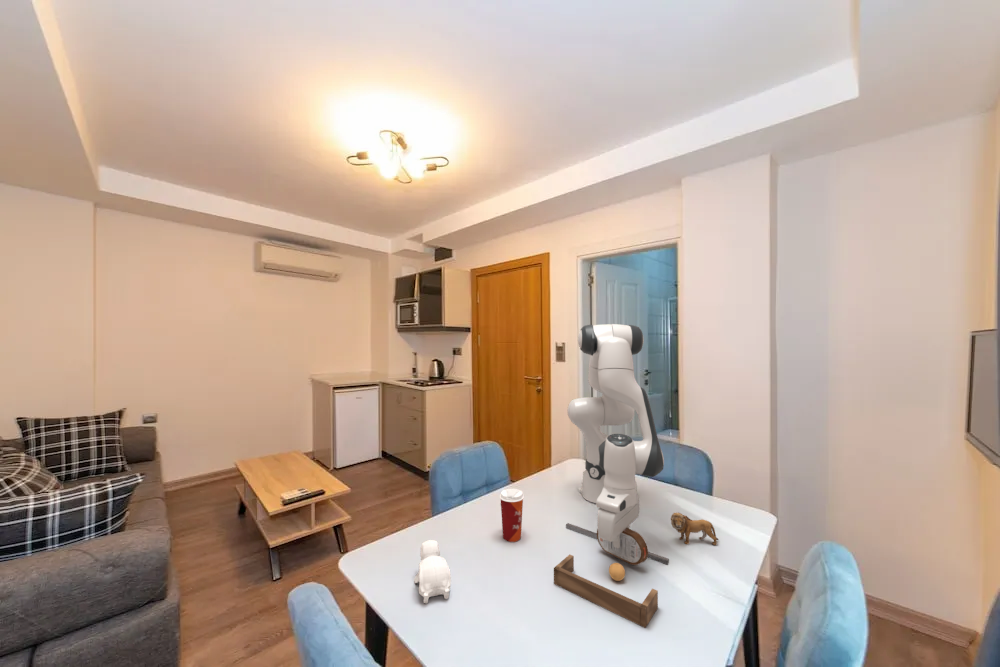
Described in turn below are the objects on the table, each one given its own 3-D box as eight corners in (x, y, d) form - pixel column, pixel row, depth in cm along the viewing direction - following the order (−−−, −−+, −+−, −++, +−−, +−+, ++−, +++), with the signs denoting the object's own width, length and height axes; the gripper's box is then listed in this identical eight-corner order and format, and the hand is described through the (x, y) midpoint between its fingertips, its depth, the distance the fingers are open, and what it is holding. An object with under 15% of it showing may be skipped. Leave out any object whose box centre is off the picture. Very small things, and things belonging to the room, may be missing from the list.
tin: (648, 568, 103) (649, 535, 104) (642, 571, 101) (643, 538, 102) (600, 545, 115) (602, 516, 115) (594, 548, 113) (595, 518, 113)
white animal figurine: (453, 606, 94) (443, 553, 108) (455, 582, 91) (445, 530, 105) (417, 614, 92) (411, 559, 105) (418, 589, 89) (413, 535, 102)
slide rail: (567, 526, 128) (567, 522, 128) (668, 563, 107) (668, 558, 107) (565, 528, 127) (565, 524, 127) (667, 565, 106) (667, 560, 106)
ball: (612, 572, 103) (612, 557, 103) (627, 578, 100) (627, 563, 100) (606, 580, 100) (606, 564, 100) (621, 586, 97) (621, 570, 97)
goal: (569, 569, 104) (569, 554, 104) (657, 607, 89) (657, 590, 89) (553, 583, 98) (553, 567, 98) (645, 627, 83) (645, 609, 83)
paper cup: (522, 545, 116) (522, 498, 117) (497, 542, 118) (497, 496, 118) (525, 532, 124) (525, 488, 124) (502, 529, 126) (502, 486, 126)
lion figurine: (675, 547, 115) (675, 517, 115) (667, 538, 120) (667, 509, 120) (723, 545, 116) (723, 515, 116) (712, 536, 121) (712, 507, 121)
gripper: (624, 480, 118) (624, 526, 118) (593, 502, 103) (593, 554, 103) (645, 486, 114) (645, 532, 114) (615, 509, 99) (616, 563, 99)
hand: (620, 543), depth 108 cm, fingers closed on tin, 3 cm apart
